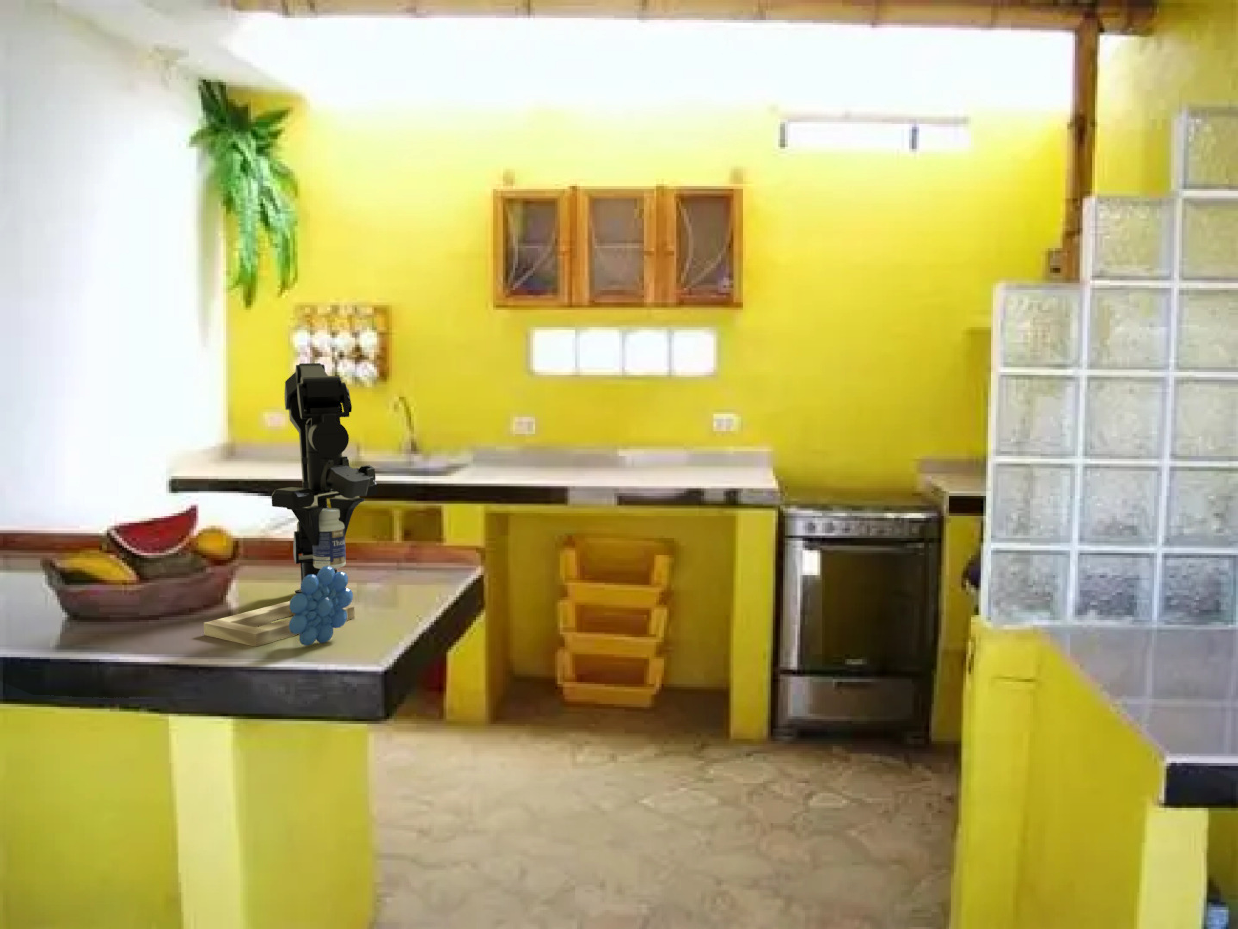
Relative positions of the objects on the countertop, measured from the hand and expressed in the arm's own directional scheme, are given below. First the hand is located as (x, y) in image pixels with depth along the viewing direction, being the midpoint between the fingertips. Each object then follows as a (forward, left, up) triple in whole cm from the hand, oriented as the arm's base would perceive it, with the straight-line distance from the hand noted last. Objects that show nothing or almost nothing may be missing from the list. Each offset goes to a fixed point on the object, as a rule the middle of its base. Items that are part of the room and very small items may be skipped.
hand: (328, 542), depth 180 cm
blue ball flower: (+10, -12, -13) cm, 20 cm away
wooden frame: (-3, -8, -13) cm, 16 cm away
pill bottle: (0, 0, -4) cm, 4 cm away
